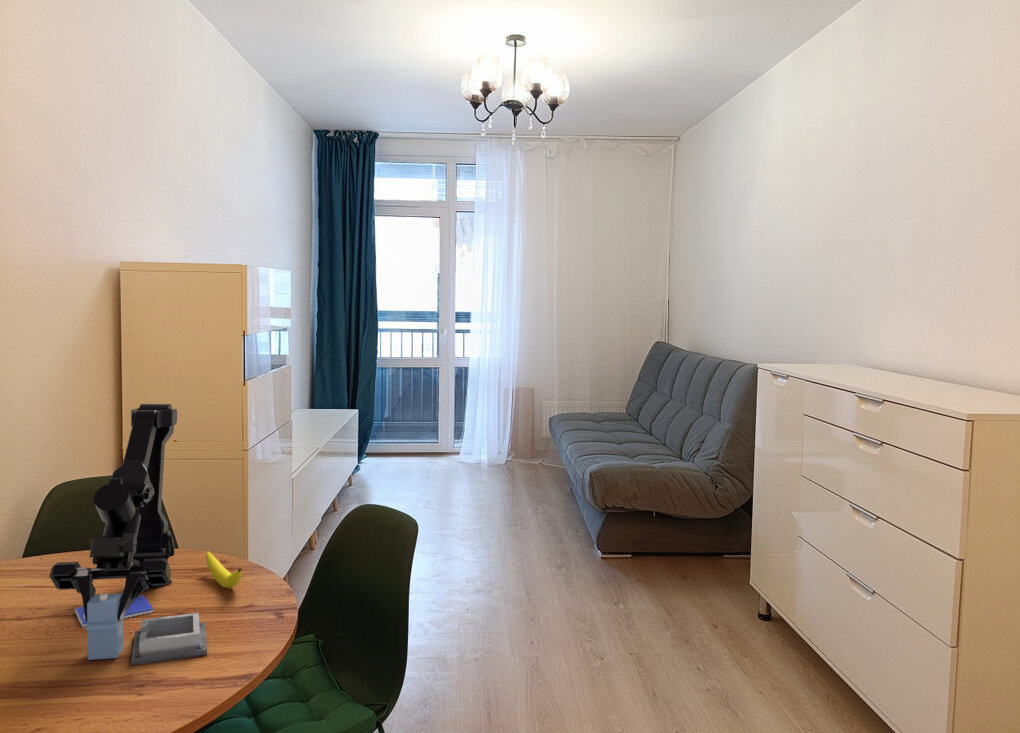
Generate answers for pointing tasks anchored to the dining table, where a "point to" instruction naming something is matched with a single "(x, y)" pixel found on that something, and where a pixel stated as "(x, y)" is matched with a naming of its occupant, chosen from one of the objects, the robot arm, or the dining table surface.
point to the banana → (222, 572)
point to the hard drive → (135, 609)
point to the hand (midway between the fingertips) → (103, 620)
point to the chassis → (169, 639)
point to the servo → (104, 626)
